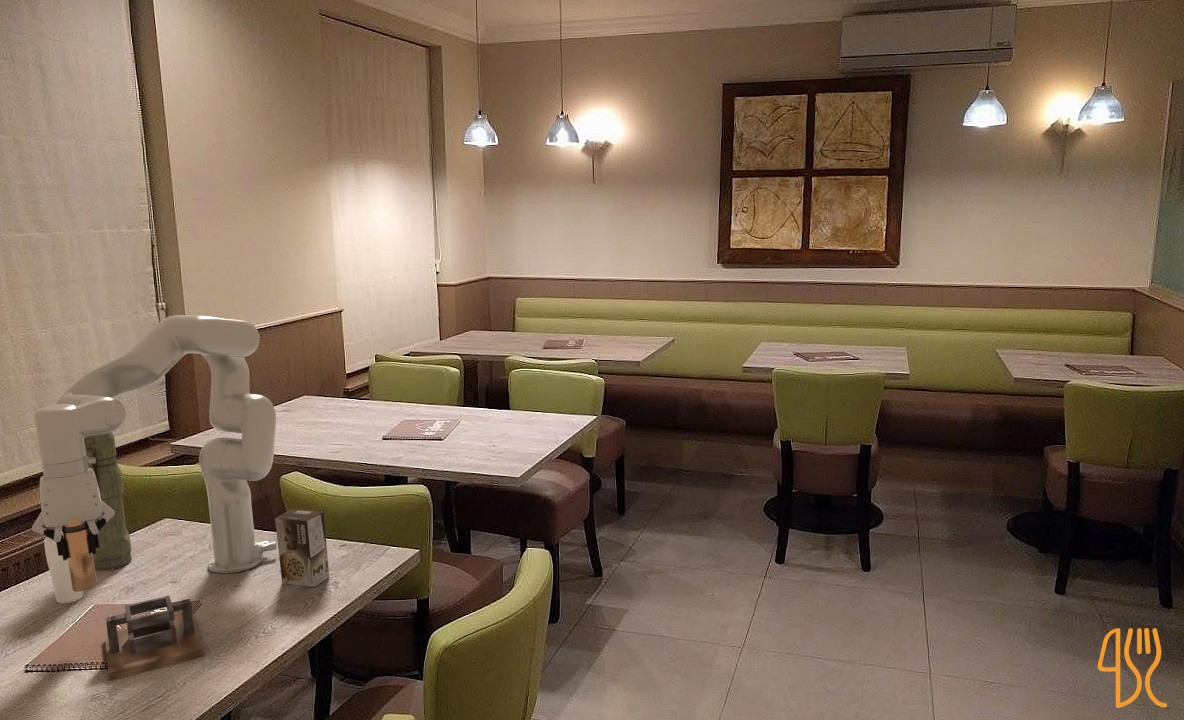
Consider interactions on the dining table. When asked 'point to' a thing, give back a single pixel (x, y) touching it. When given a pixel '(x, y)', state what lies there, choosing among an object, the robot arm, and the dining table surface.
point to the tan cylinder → (79, 555)
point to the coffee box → (302, 547)
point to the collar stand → (151, 637)
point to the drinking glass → (60, 574)
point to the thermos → (109, 503)
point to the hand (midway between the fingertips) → (79, 554)
